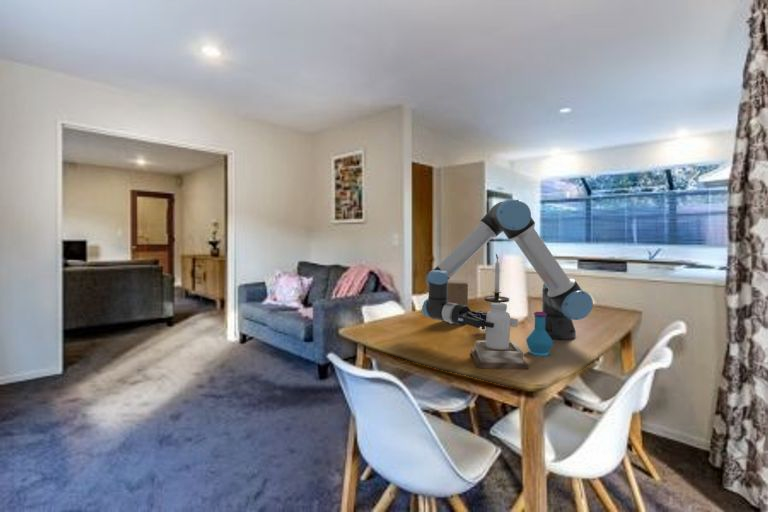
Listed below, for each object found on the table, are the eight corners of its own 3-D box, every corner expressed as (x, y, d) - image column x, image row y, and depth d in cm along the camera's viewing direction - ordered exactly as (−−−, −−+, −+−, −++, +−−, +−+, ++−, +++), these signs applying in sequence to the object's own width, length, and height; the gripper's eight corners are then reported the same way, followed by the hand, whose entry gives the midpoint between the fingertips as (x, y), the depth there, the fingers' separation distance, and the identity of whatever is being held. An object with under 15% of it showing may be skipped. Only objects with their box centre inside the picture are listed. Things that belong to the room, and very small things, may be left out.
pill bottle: (512, 350, 132) (513, 306, 131) (488, 350, 132) (489, 305, 131) (505, 343, 140) (506, 301, 139) (482, 343, 140) (483, 301, 139)
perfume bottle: (550, 358, 139) (551, 316, 138) (523, 354, 143) (524, 313, 142) (554, 351, 146) (555, 311, 145) (528, 347, 151) (529, 309, 150)
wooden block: (467, 324, 189) (467, 283, 188) (446, 323, 191) (446, 282, 190) (467, 319, 199) (467, 280, 197) (447, 319, 201) (447, 280, 199)
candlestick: (485, 331, 175) (486, 253, 173) (483, 326, 186) (484, 252, 183) (510, 332, 173) (511, 253, 171) (506, 326, 184) (508, 252, 182)
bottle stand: (515, 353, 144) (515, 340, 143) (528, 369, 128) (528, 354, 127) (471, 352, 145) (471, 339, 145) (478, 367, 129) (478, 352, 129)
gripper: (473, 319, 156) (526, 331, 139) (438, 327, 143) (492, 341, 125) (473, 301, 156) (527, 310, 138) (438, 307, 142) (492, 318, 125)
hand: (510, 325), depth 132 cm, fingers closed on pill bottle, 8 cm apart
